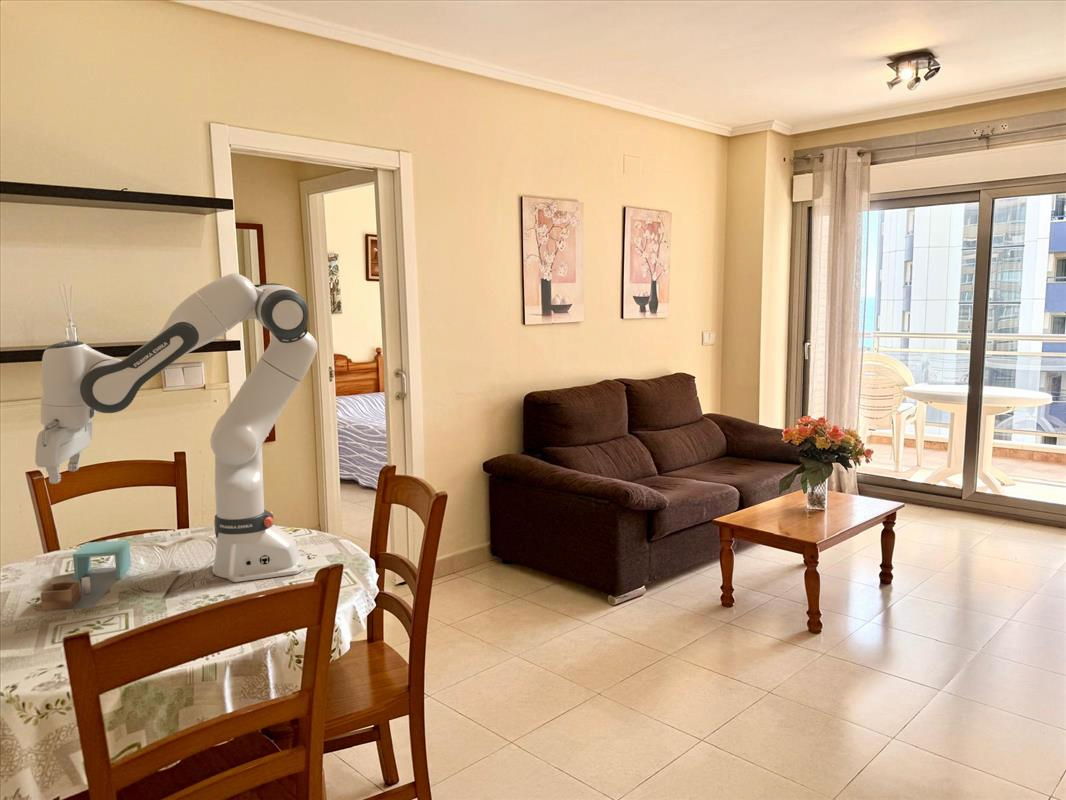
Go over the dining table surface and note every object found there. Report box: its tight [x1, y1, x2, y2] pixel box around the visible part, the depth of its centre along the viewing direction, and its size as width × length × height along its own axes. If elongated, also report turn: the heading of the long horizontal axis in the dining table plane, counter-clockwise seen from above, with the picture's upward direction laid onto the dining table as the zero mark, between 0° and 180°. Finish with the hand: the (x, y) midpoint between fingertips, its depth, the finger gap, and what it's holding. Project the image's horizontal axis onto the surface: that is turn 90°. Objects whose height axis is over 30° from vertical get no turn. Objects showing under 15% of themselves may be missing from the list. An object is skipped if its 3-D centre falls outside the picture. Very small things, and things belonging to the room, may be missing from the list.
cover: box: [72, 539, 132, 581], centre depth 178 cm, size 10×8×6 cm
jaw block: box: [40, 580, 81, 612], centre depth 161 cm, size 6×6×4 cm
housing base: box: [46, 566, 118, 612], centre depth 171 cm, size 10×24×4 cm, turn 12°
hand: (64, 476), depth 166 cm, fingers open, 8 cm apart
